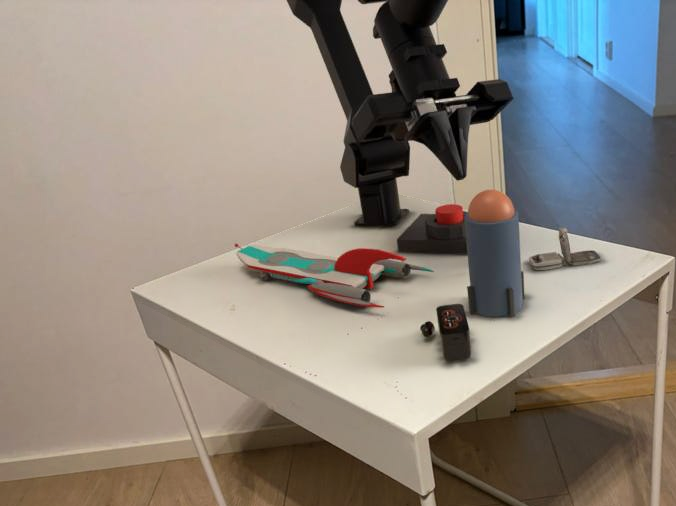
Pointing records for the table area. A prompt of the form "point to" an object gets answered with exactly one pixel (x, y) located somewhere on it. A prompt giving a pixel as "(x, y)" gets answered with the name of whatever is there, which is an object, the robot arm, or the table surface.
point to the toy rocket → (493, 256)
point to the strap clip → (556, 260)
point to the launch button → (449, 214)
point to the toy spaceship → (328, 270)
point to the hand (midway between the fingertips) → (461, 178)
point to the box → (433, 236)
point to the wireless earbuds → (451, 332)
